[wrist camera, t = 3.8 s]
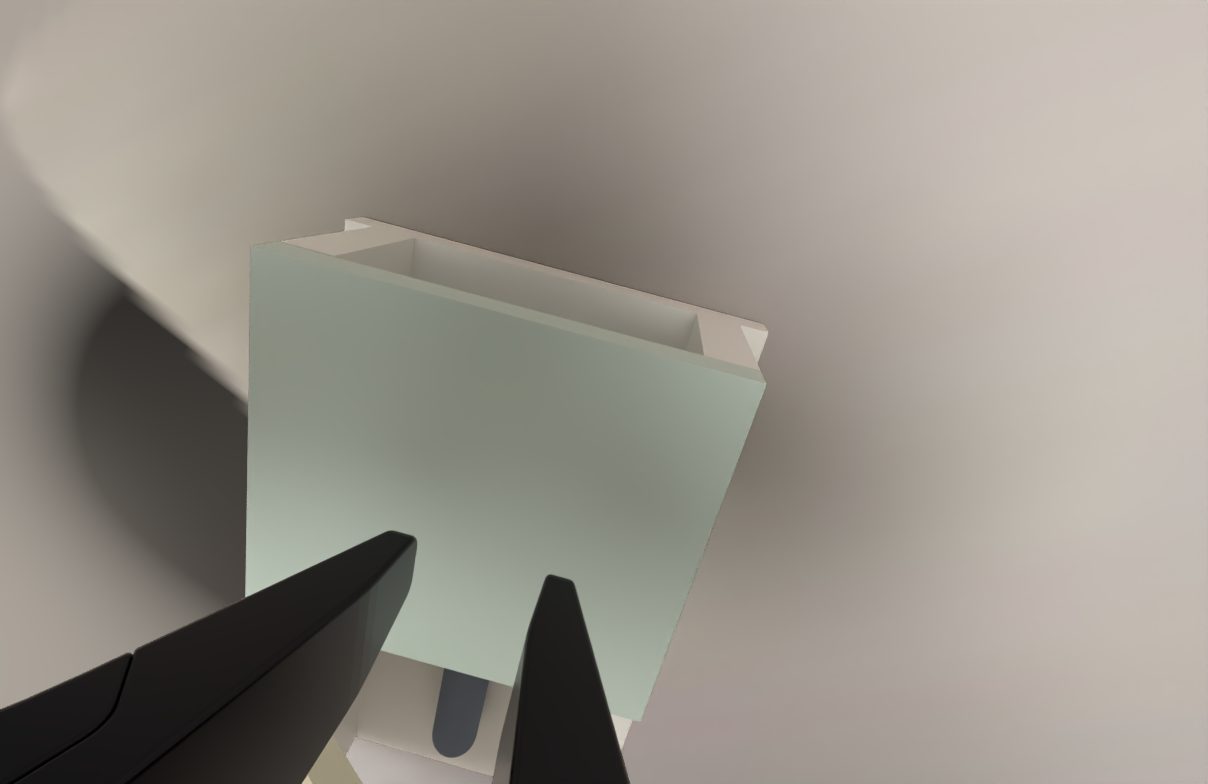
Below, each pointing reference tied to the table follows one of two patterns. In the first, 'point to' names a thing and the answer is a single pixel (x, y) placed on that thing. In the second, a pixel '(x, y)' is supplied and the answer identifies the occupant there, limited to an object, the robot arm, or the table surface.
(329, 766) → the lid inner
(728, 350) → the white tray
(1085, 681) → the table surface
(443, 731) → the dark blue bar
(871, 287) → the table surface
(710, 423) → the lid outer
